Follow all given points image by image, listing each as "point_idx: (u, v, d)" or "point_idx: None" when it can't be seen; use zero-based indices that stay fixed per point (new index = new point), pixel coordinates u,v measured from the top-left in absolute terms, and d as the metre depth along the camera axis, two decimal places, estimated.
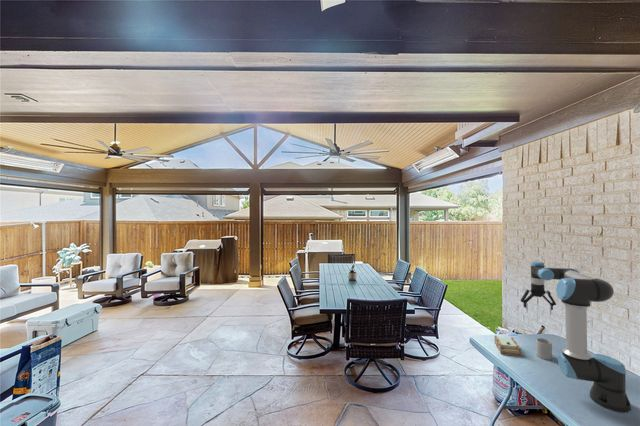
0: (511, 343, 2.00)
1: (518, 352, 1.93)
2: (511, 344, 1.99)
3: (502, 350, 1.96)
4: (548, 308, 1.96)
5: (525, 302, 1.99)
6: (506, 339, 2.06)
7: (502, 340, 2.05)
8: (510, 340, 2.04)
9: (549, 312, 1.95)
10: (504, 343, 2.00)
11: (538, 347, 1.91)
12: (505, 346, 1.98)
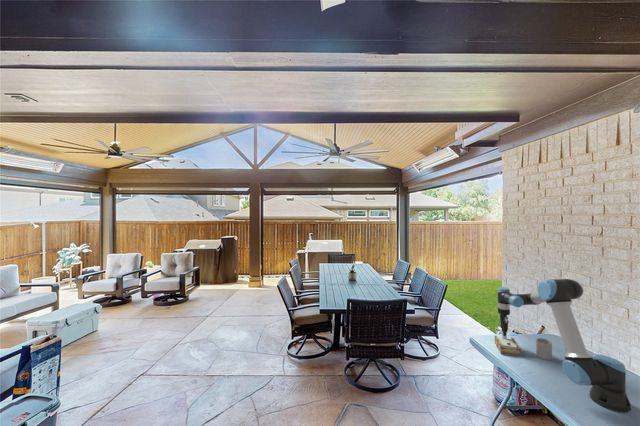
0: (511, 344, 1.99)
1: (518, 352, 1.93)
2: (511, 345, 1.98)
3: (502, 350, 1.96)
4: None
5: None
6: (506, 340, 2.05)
7: (502, 341, 2.04)
8: (510, 341, 2.04)
9: (503, 337, 2.09)
10: (504, 344, 2.00)
11: (538, 347, 1.91)
12: (505, 347, 1.97)
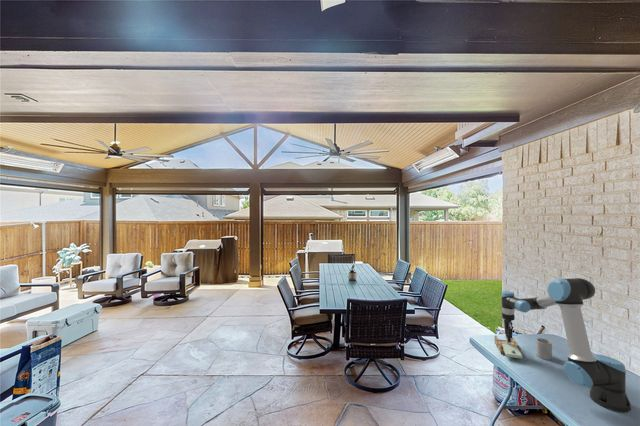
0: (516, 351, 1.89)
1: None
2: (516, 353, 1.88)
3: (502, 350, 1.96)
4: (510, 341, 1.98)
5: None
6: (511, 346, 1.96)
7: (507, 348, 1.94)
8: (515, 348, 1.94)
9: (507, 343, 1.99)
10: (509, 352, 1.90)
11: (538, 347, 1.91)
12: (510, 355, 1.88)
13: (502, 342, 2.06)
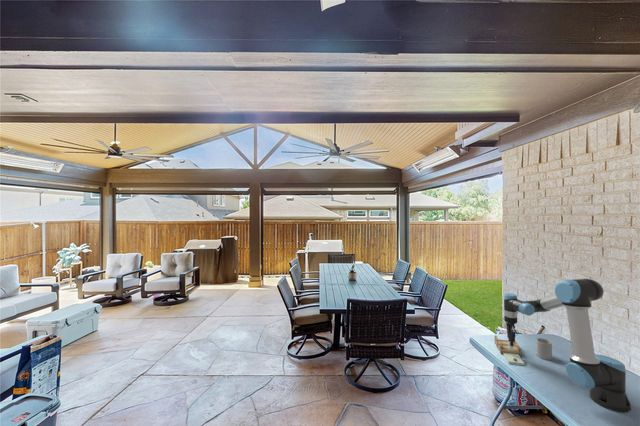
0: (518, 359, 1.86)
1: (518, 352, 1.93)
2: (518, 361, 1.85)
3: (502, 350, 1.96)
4: None
5: (508, 338, 1.95)
6: (513, 355, 1.92)
7: (508, 356, 1.91)
8: (517, 356, 1.90)
9: None
10: (511, 359, 1.86)
11: (538, 347, 1.91)
12: (512, 363, 1.84)
13: (502, 342, 2.06)
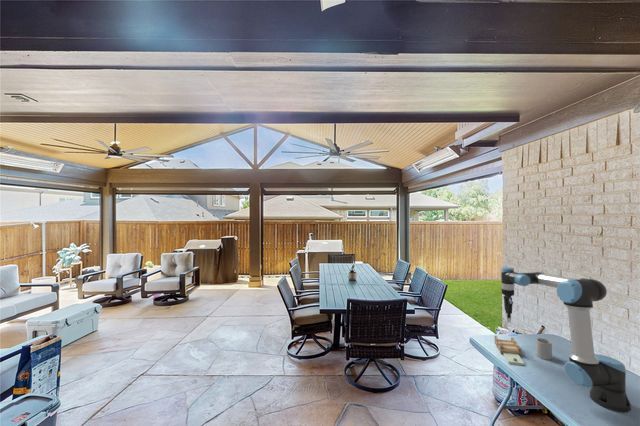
0: (518, 360, 1.86)
1: (518, 352, 1.93)
2: (518, 361, 1.85)
3: (502, 350, 1.96)
4: None
5: None
6: (513, 355, 1.92)
7: (508, 356, 1.91)
8: (517, 356, 1.90)
9: None
10: (511, 359, 1.86)
11: (538, 347, 1.91)
12: (512, 363, 1.84)
13: (502, 342, 2.06)
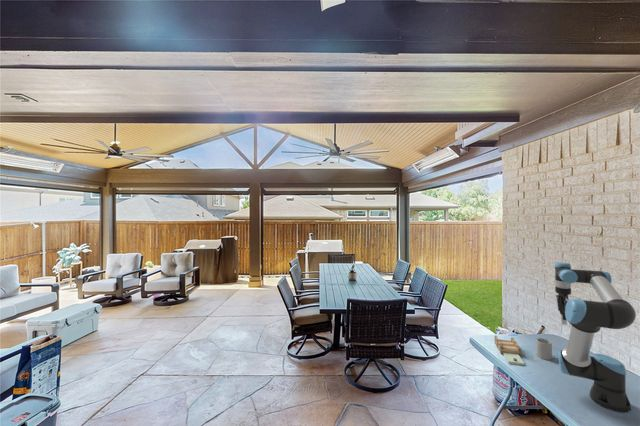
0: (518, 360, 1.86)
1: (518, 352, 1.93)
2: (518, 361, 1.85)
3: (502, 350, 1.96)
4: (565, 318, 1.75)
5: None
6: (513, 355, 1.92)
7: (508, 356, 1.91)
8: (517, 356, 1.90)
9: None
10: (511, 359, 1.86)
11: (538, 347, 1.91)
12: (512, 363, 1.84)
13: (502, 342, 2.06)
